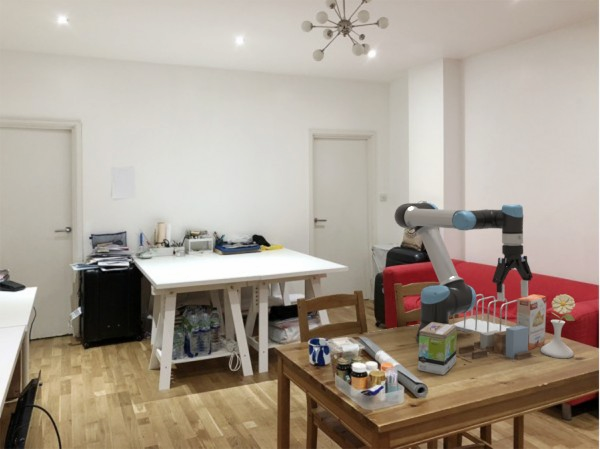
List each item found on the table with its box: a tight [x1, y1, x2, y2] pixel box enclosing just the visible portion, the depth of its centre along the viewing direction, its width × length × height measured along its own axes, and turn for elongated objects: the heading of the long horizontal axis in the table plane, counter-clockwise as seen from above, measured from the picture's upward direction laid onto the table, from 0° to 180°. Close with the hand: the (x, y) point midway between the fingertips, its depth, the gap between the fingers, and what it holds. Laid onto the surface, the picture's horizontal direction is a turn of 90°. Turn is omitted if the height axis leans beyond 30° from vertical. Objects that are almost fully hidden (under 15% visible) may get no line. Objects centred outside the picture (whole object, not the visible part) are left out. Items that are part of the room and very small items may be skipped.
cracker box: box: [516, 293, 547, 351], centre depth 205 cm, size 14×6×21 cm, turn 130°
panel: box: [506, 325, 529, 359], centre depth 192 cm, size 4×8×11 cm, turn 117°
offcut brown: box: [494, 331, 506, 354], centre depth 197 cm, size 4×7×8 cm, turn 117°
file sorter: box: [450, 293, 518, 334], centre depth 230 cm, size 25×17×16 cm
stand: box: [456, 344, 491, 363], centre depth 194 cm, size 8×10×4 cm
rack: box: [473, 340, 537, 363], centre depth 198 cm, size 20×12×3 cm, turn 27°
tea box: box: [417, 322, 458, 376], centre depth 184 cm, size 15×10×15 cm, turn 148°
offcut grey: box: [479, 330, 501, 349], centre depth 203 cm, size 4×9×6 cm, turn 117°
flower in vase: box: [540, 293, 576, 359], centre depth 193 cm, size 13×11×25 cm
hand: (512, 298), depth 195 cm, fingers open, 13 cm apart
